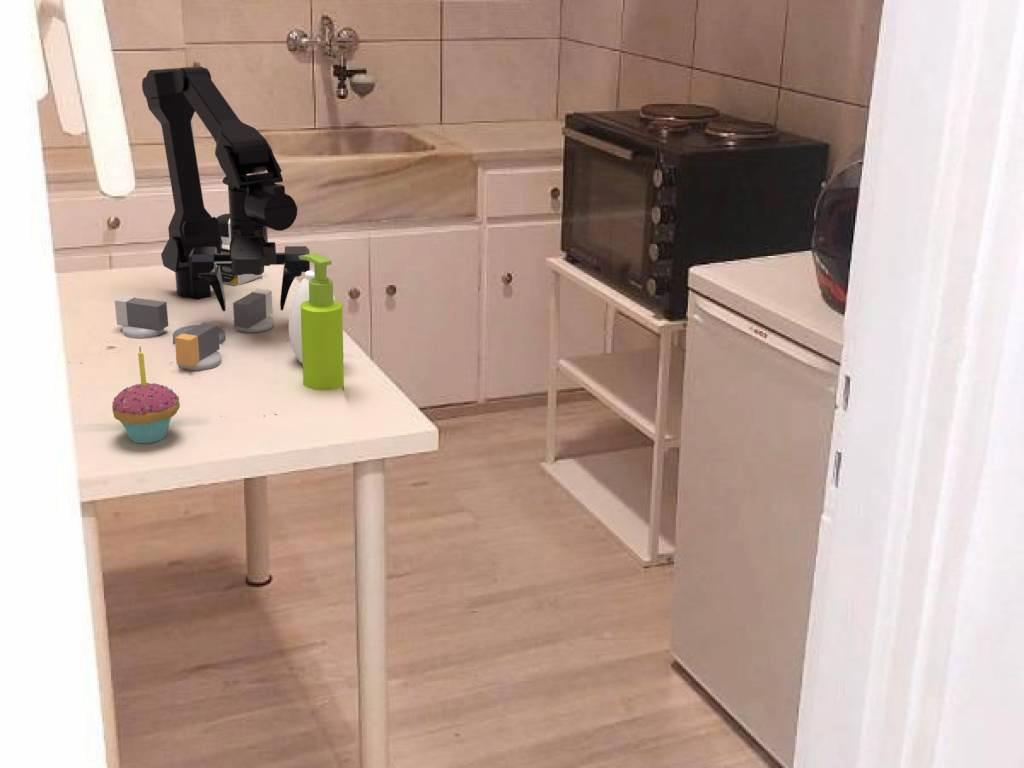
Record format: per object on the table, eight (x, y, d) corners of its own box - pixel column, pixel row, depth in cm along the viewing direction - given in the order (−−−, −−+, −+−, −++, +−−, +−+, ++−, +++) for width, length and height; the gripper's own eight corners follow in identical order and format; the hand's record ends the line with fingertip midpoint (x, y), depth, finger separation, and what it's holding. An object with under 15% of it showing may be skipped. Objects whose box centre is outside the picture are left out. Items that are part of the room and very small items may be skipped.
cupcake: (112, 427, 158) (104, 343, 154) (177, 419, 161) (171, 337, 157) (118, 454, 151) (109, 367, 146) (186, 445, 154) (179, 360, 149)
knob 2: (259, 336, 188) (257, 306, 186) (224, 330, 190) (222, 300, 188) (283, 321, 195) (281, 292, 193) (249, 315, 197) (247, 286, 195)
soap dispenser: (324, 376, 177) (320, 248, 169) (352, 390, 173) (349, 259, 165) (291, 386, 173) (286, 255, 165) (319, 400, 169) (315, 266, 161)
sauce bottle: (350, 372, 179) (348, 258, 172) (303, 381, 175) (298, 265, 168) (329, 355, 185) (326, 244, 178) (282, 364, 181) (277, 251, 174)
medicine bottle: (207, 280, 218) (203, 216, 213) (232, 270, 224) (229, 208, 219) (237, 286, 215) (234, 222, 210) (262, 277, 221) (259, 214, 216)
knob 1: (194, 350, 182) (192, 319, 180) (231, 356, 180) (229, 325, 178) (166, 368, 175) (163, 335, 173) (203, 374, 173) (201, 342, 171)
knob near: (175, 327, 191) (173, 297, 189) (153, 340, 185) (150, 310, 183) (133, 321, 192) (130, 292, 191) (110, 334, 187) (107, 304, 185)
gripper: (182, 230, 177) (189, 328, 183) (307, 229, 180) (310, 326, 186) (189, 211, 187) (195, 304, 193) (308, 211, 190) (311, 303, 196)
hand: (253, 310), depth 192 cm, fingers open, 9 cm apart
